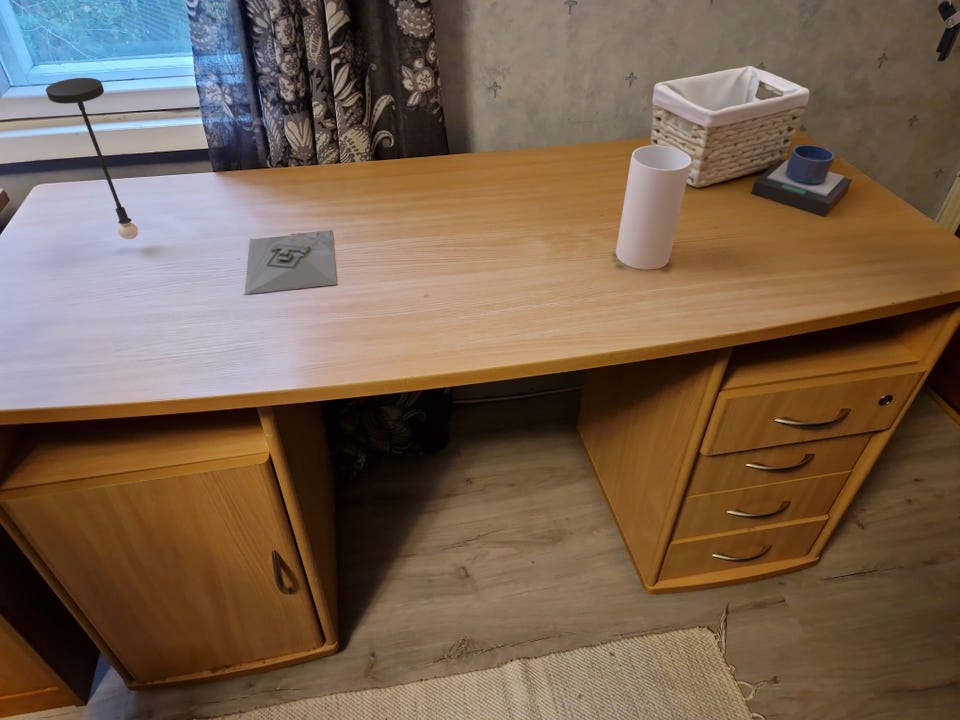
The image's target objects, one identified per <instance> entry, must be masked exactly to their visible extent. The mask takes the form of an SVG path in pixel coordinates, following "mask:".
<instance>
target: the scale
mask: <svg viewBox="0 0 960 720" xmlns="http://www.w3.org/2000/svg"><path fill="white" fill-rule="evenodd" d="M788 162H789V159H786V160H785V159H784V160H782V159H780V160H779V161H778V162H777V163H775V164H774V165H773V166H772V167H771V168H769V169H766V171H765V172H764V173H762V174H761V175H760V176H759V177H758V178H756V179H755V180H754V182H753V186H752V189H751V194H752V195H754V196H758V197H761V198H764V199H767V200H771V201H774V202H778V203H780V204H783V205H786V206H789V207H793V208H797V209H798V210H803V211H806V212H808V213H812V214H814V215H818V216H821V217H826V216H827V215H828V214H829V213H830V211H832V209H833V208H834V207H835V206H836V205H837V204H838V203H839V202H840V201H841V199H842V198H843V197H844V196H845V195H846V194H847V193H848V191H849V189H850V186H851V183H852V181H853V179H852V178H848V177H845V175H842V174H839V173H836V172H833V171H829V174H828V177H827V179H826V180H825V181H824V182H821V183H819V184H814V185H809V184H802V183H798V182H796V181H793V180H792V179H790V178H789V177H788V175H787V174H786V168H787V165H788Z"/></svg>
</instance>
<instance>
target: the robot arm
mask: <svg viewBox="0 0 960 720" xmlns="http://www.w3.org/2000/svg"><path fill="white" fill-rule="evenodd" d="M937 11H938V12H939V13H938V14H939V15H940V16H941V18H942V20H943V22H944V23H943V24H944V28H945V29H944V31H943V33H942V36H941V38H940V41H939V43H938V45H937V48H936V50H935V52H936V53H940V54H939V56H938V58H937V62H941V63H942V62H945V61H946V60H947V59H948V58H949V56H950V54H951V52H952V50H953V47H954V45H955V43H956V41H957V38H958V36H959V33H960V9H959V10H956V8H955V6H954V4H953V1H952V0H937Z"/></svg>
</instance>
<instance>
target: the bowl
mask: <svg viewBox="0 0 960 720" xmlns="http://www.w3.org/2000/svg"><path fill="white" fill-rule="evenodd" d="M835 159H836V157H835V153H834V152H833V151H831V150H830V149H827V148H826V147H822V146H819V145H814V144H813V145H812V144H800V145H796V146H794V147H793V148H792V150H791V153H790V155H789V159H788V160H789V162H788V165H787V168H786V174H787V175H788V177H789V178H790V179H792V180H793V181H796V182H798V183H802V184H809V185H814V184H819V183H821V182H824V181H825V180H826V179H827V177H828V174H829V172H831V169H832V166H833V163H834V161H835Z"/></svg>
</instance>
